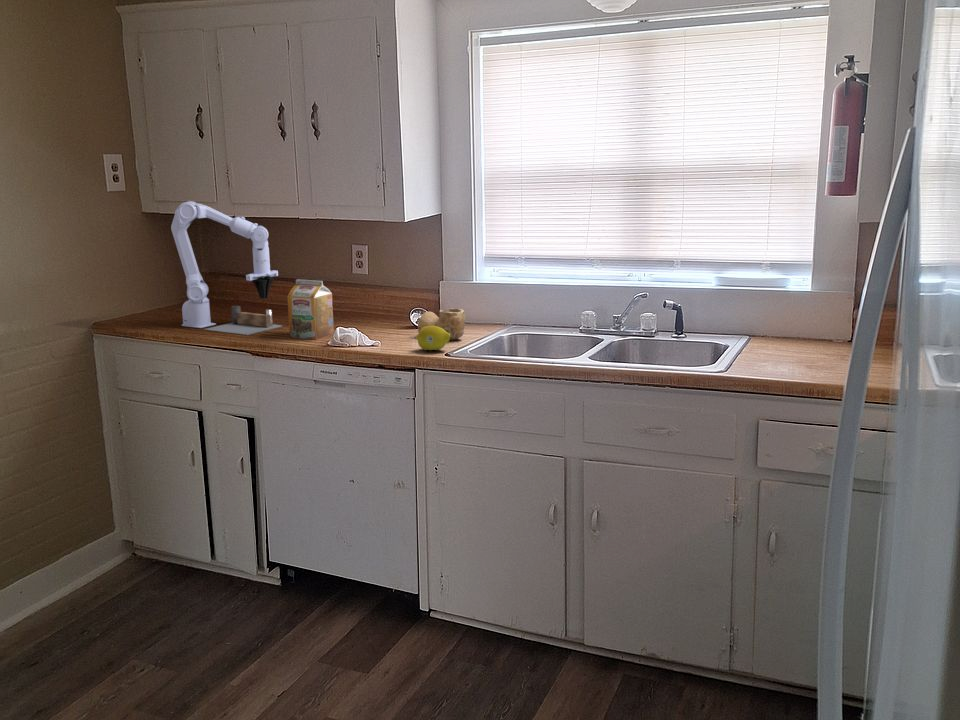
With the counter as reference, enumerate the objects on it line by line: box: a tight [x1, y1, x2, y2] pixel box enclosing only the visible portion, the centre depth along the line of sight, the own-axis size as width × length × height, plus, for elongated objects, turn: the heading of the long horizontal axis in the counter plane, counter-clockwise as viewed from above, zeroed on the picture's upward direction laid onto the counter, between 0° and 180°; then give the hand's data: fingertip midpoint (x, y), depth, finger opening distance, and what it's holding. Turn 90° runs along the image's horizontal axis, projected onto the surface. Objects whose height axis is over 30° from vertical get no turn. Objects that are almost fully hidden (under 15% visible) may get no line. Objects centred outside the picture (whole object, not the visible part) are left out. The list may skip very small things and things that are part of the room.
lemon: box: [416, 326, 451, 351], centre depth 272 cm, size 11×8×8 cm
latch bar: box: [230, 305, 270, 327], centre depth 313 cm, size 17×3×6 cm, turn 61°
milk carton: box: [287, 278, 335, 341], centre depth 295 cm, size 11×11×19 cm
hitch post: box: [265, 309, 274, 326], centre depth 312 cm, size 2×2×6 cm
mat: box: [203, 322, 283, 336], centre depth 310 cm, size 20×18×1 cm
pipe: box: [417, 307, 466, 341], centre depth 291 cm, size 9×16×10 cm, turn 56°
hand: (263, 298), depth 316 cm, fingers closed
